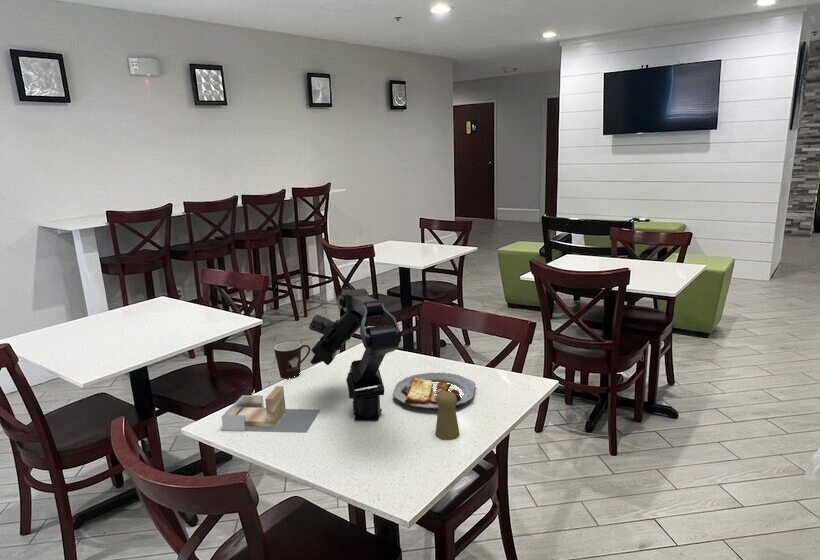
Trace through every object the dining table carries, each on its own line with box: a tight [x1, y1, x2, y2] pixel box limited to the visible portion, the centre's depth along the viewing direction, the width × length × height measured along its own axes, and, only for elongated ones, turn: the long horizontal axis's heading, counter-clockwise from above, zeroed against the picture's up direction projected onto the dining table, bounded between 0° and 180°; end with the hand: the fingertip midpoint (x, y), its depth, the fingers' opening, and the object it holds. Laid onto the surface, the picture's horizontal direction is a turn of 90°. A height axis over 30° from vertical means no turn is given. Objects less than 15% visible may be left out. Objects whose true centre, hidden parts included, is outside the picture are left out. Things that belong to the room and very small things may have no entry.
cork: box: [434, 391, 460, 441], centre depth 137 cm, size 6×6×11 cm
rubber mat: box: [221, 408, 321, 434], centre depth 149 cm, size 23×13×1 cm, turn 83°
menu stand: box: [238, 385, 287, 427], centre depth 149 cm, size 12×8×8 cm, turn 83°
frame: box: [221, 394, 265, 432], centre depth 150 cm, size 6×13×4 cm, turn 173°
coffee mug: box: [273, 341, 311, 380], centre depth 180 cm, size 12×9×10 cm
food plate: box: [392, 372, 477, 410], centre depth 161 cm, size 25×23×4 cm
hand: (311, 363), depth 158 cm, fingers closed
